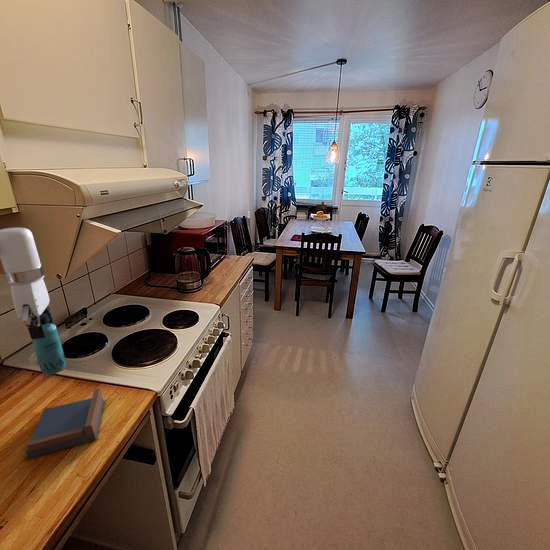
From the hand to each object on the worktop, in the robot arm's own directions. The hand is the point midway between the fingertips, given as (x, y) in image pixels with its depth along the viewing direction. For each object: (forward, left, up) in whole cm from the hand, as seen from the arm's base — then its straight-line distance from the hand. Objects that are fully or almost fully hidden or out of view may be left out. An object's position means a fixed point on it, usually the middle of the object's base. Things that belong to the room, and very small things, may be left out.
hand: (43, 330), depth 83 cm
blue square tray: (+5, -15, -24) cm, 29 cm away
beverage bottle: (0, 0, -15) cm, 15 cm away
